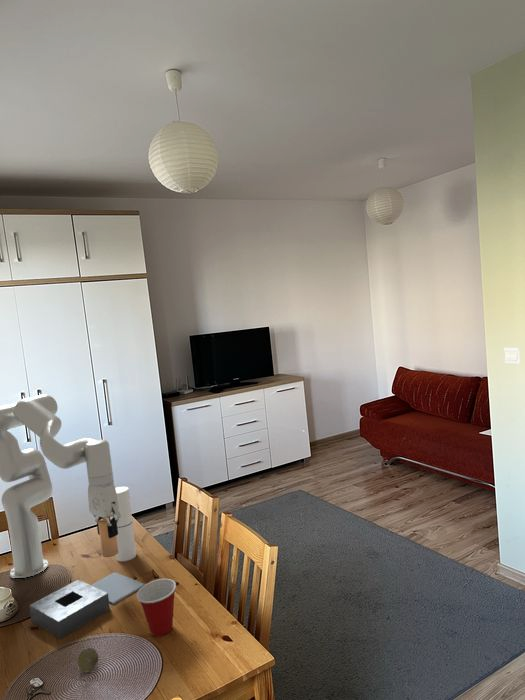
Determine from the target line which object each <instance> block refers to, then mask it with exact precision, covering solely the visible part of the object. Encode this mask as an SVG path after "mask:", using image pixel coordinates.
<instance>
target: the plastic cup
mask: <svg viewBox="0 0 525 700" xmlns="http://www.w3.org/2000/svg"><path fill="white" fill-rule="evenodd" d="M144 584H145V583H144ZM176 585H177V583H176V581H174V580H173V579H169V578H159V579H158V578H157V579H155V580H151V581H150V582H148V583H146V584H145V585H144V586H143V587H141V588H140V589H139V590H137V591H136V600H137V601H138V602H139V603H140V605H141V608H142V610H143V613H144V616H145V619H146V623H147V624H148V627H149V631H150V634H152V636H154V637H164V636H165V635H168V634H169V633H170V632H172V630H171V629H173V624H174V622H173V621H174V620H173V619H174V607H175V605H174V603H175V602H174V601H175V592H176V589H177V586H176Z"/></svg>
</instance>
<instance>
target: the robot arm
mask: <svg viewBox="0 0 525 700" xmlns="http://www.w3.org/2000/svg"><path fill="white" fill-rule="evenodd" d="M58 408H59V407H58V403H57V401H56V399H55V398H54V397H53V396H51V395H49V394H39V395H35V396H32V397H31V396H30V397H26V398H22V399H20V400H19V401H17V402H13V403H11V404H10V403H9V404H4V405H0V479H1V480H2V481H3V482H4V483H12V482H16V481H18V480H22V479H24V478H27V477H28V478H29V479H27V480H23V481H22V482H18V483H16V484H14V485H12V486H10V487H8V488H7V489H6V490H5V491H4V492H3V494H2V495H1V504H2V507H3V510H4V512H5V516H6V521H7V526H8V533H9V537H10V538H9V539H10V547H11V554H12V561H13V568H11V570H10V572H9V576H10V578H12V579H14V578H25V579H27V578H26V577H30V576H33V577H35V576H34V575H36V574H38V573H40V572H42V571H43V572H45V571H46V570H47V569H48V568H49V565H50V564H49V561H48V559H44V555H43V548H42V547H43V546H42V542H41V541H42V540H41V534H40V533H41V532H40V527H39V526H40V525H39V519H38V517H37V515H36V514H35V513H34V512H33V511H32V510H31V509H32V508H33V507H35V506H37V505H40V504H42V503H44V502H46V501H48V500H49V499H50V498H51V496H52V494H53V485H52V484H53V483H52V481H51V480H52V479H51V477H50V473H49V470H48V466H47V463H46V459H47V460H48V461H49V462H51V463H52V464H53V465H55V466H56V467H57V468H60V469H64V470H68V469H70V468H73V467H76V466H79V465H81V464H84V463H85V464H86V470H87V471H86V472H87V479H88V486H87V495H88V496H87V497H88V499H87V500H88V509H89V513H90V514H91V515H93V517H94V520H95V523H96V530H97V534H98V536H100V533H99V525H98V521H99V520H101V519H103V518H107V522H108V525H109V526H107V528H108V536H109V538H112V537H114V536H116V535H118V529H117V523H118V519H119V518H120V517H121V515H120V513H119V506H118V499H117V494H116V490H115V488H116V486H115V483H114V482H115V480H114V472H113V464H112V458H111V457H112V456H111V448H110V443H109V441H108V440H106V439H94V438H90V437H83V438H79V439H78V440H74V441H70V442H68V443H67V442H66V444H62V443H60V442H59V441H57V440H56V439H55V437H56V436H57V434H58V433H59V432H60V430H61V428H62V420H61V419H60V417H59V416H57V415H56V414H57V411H58ZM21 426H25V427H26V428H27V429H29V431H31V432H32V433H34V434H35V435H36V436H37V437H38V438H39V448H40V449H41V451H40V450H39V449H37V448H35V447H34V448H33V447H29V448H25V449H22V450H21V448H20V446H19V441H18V439H17V437H16V436H14V434H12V432H10V431H9V430H11V429H14V428H18V427H21ZM45 458H46V459H45ZM111 513H112V514H111ZM112 516H113V518H112V519H110V517H112ZM47 567H48V568H47ZM46 568H47V569H46ZM45 569H46V570H45ZM44 570H45V571H44ZM43 572H42V573H43ZM40 574H41V573H40ZM38 575H39V574H38ZM36 576H37V575H36ZM30 578H31V577H30Z"/></svg>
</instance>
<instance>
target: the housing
mask: <svg viewBox="0 0 525 700" xmlns="http://www.w3.org/2000/svg"><path fill="white" fill-rule="evenodd" d="M91 585H92V584H89V583H87V582H84V581H82V580H80V579H76V580H75V581H73V582H71V583H69V584H67V585H65V586H63V587H61V588H59V589H57V590H56V591H53V592H51V593H50V594H48V595H46V596H44V597H42V598H41V599H39V600H37V601H35V602H33V603H31V604H29V612H30V613H29V614H30V621H31V622H32V623H34V624H35V625H37V626H38V627H40V628H42V629H44V630H46V631H47V632H49V633H50V634H51V635H53V636H56V638H58V639H60V640H61V639H63V638H64V637H66V636H68V635H69V634H71V633H73V632H75V631H76V630H78V629H79V628H81V627H82V626H85V625H86V624H87V623H89V622H91V621H92V620H95V619H96V618H97V617H99V616H101V615H103V614H104V613H106V612H108V611H109V610H111V607H110V606H111V605H110V603H109V597H108V593H107V592H104V591H102V590H100V589H98V588H96V587H93V586H91Z"/></svg>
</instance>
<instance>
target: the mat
mask: <svg viewBox="0 0 525 700" xmlns="http://www.w3.org/2000/svg"><path fill="white" fill-rule="evenodd" d="M90 585H91V586H93V587H96V588H98V589H100V590H102V591H104V592H107V593H108V597H109V604H110V605H115V604H117V603H119V602H121V601H122V600H124V599H126V598H127V597H129V596H130V595H132V594H133V593H135V592H138V591H139V589H140V588H141V587H143V586H144V585H145V583H143V582H140V581H138V580H135V579H134V578H130V577H128V576H126V575H123V574H120V573H118V572H116V571H115V572H112V573H110V574H108V575H107V576H106V575H105V576H104V577H103V578H101V579H99V580H97V581H95V582H94V583H92V584H90Z"/></svg>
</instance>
